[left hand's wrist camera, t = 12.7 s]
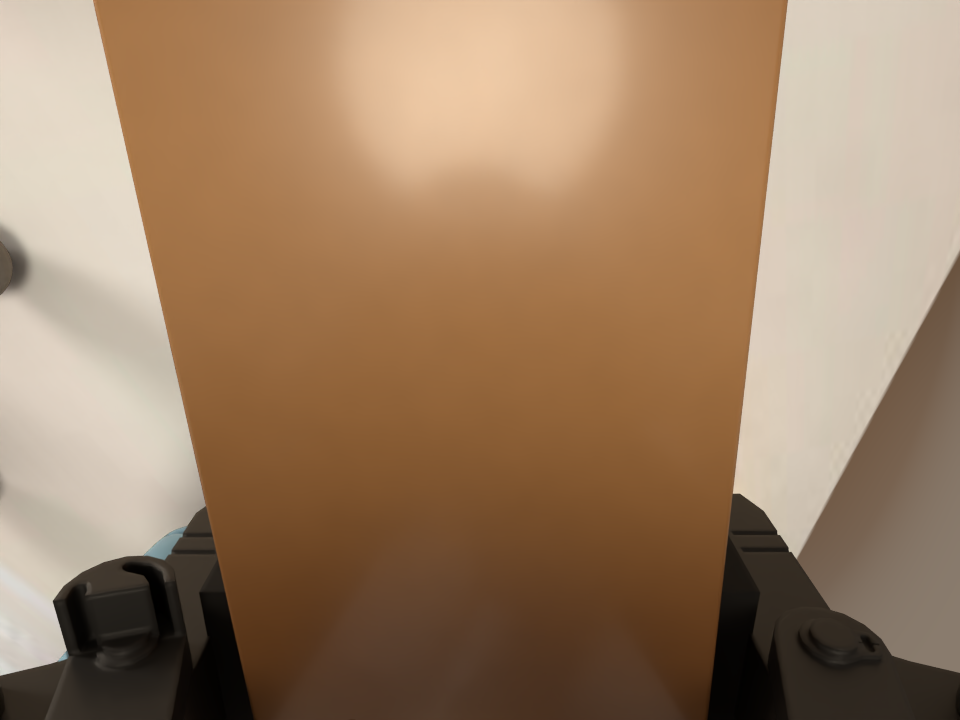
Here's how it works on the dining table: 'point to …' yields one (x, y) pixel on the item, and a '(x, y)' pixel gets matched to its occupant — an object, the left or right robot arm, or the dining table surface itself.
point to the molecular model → (5, 268)
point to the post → (459, 334)
